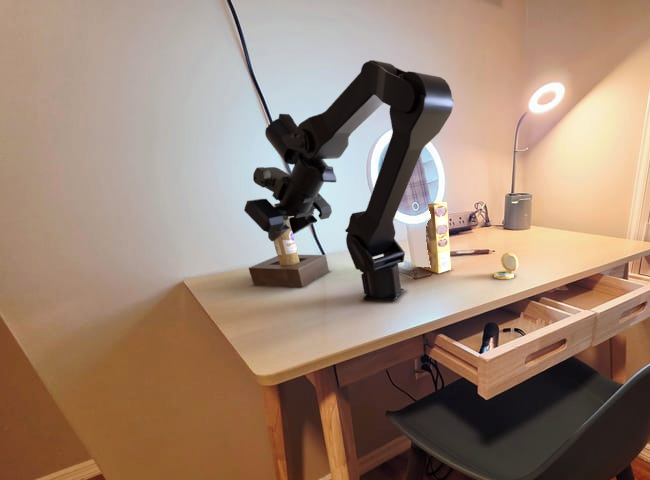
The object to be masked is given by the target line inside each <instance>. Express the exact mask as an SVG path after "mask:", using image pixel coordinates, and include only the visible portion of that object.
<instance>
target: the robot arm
mask: <svg viewBox="0 0 650 480" xmlns="http://www.w3.org/2000/svg"><path fill="white" fill-rule="evenodd" d="M383 104H386V105H387V106H389V112H388V113H389V119H390V123H391V124H390V125H391V131H392V132H391V137H390V139H389V142H388V145H387V149H386V152H385V154H384V157H383V159H382V163H381V166H380V169H379V171H378V174H377V178H376V180H375V183H374V186H373V189H372V193H371V195H370V197H369V201H368V204H367V207H366V209H365V210H363V211H358V212H357V211H356V212H352V213H351V215H350V216H349V222H348V225H347V228H345V229H344V231H345V233H347V234H346V238H345V243H346V248H347V250H348V253H349V255H350V258H351V261H352V264H353V265H354V268H355V270H358V271H359V272H361V275H360V276H361V277H360V278H361V283H362V290H363V294H364V296H363V297H362V299H363V301H373V302H395V301H396V300H397V299H398V298H399V297H400V296H401V295H402V294H403V293H404V292H405V289H404V288H402V285H401V277H400V269H399V264H400V263H401V264H402V263H404V261H405V255H406V252H405V251H404V250H403V247H401V245H400V244H399V242H397V240H396V239H395V236H396V229H395V223H394V219H395V216H396V214H397V213H398V209H399V208H400V205H401V202H402V200H403V197H404V195H405V194H406V193H405V192H406V190H407V188H408V186H409V184H410V181H411V178H412V176H413V174H414V172H415V171H414V170H415V168H416V167H417V163H418V161H419V159H420V156H421V154H422V152H423V150H424V148H425V147H426V146H427V145H428V144H429V143H430V142H431V141H432V140H433V139H435V137H436V136H437V135H438V134H439V133H440V132H441V130H442V129H443V127H444V126H445V124H446V122H447V120H449V118H450V116H451V114H452V111H453V108H454V99H453V94H452V90H451V87H450V85H449V83H448V81H446V79H445V78H443V77H441V76H436V75H431V74H427V73H421V72H417V71H416V72H415V71H405V70H402V69H401V68H398V67H396V66H395V65H393V64H392V63H389V62H383V61H378V60H374V59H373V60H370V59H369V60H368V61H366V62H364V63H363V64H362V66H361V69H360V72H359V73H358V74H357V75H356V76H355V77H354V79H353V80H352V81H351V82H350V83H349V85H347V86H346V88H345V89H344V90H343V91H342V92H341V93H340V94H339V95H338V97H337V98H336V99H335V100H334V101H333V102H332V103H331V105H329V107H327V109H326V110H325V111H323V112H322V113H318V114H316V115H312V116H309V117H307V118H306V119H305V120H303V121H301V122H300V123H299V124H298V125H297V123H296V122H295V121H294V119H293V117H292V115H290V114H289V113H279V114H278V118H276V119H274V120H272V121H271V122H270V123H269V124H268V125H267V127H266V128H265V133H264V134H265V138H266V140H267V141H268V142H269V143H270V144H271V146H272V147H273V148H274V150H275V151H276V152H277V154H278V156H279V157H280V158H281V159H282V160H283V161H284V163H285V164H288V165H292V166H293V167H292V170H291V172H290V173H287V172H286V171H284V170H282V169H280V168H278V167H275V166H269V167H264V166H261V167H259V166H258V167H256V168H255V170H254V172H253V174H252V175H253V176H252V177H253V178H252V181H253V182H254V183H255V184H256V185H258V186H259V187H261V188H262V189H263V188H265V189H267V190H268V191H270V192H272V195H271V197H273V198H274V200H275V201H279V202H278V203H274V204H275V205H274V206H275V207H274V206H273V205H272V204H273V203H271V202H270V201H269V199H267V198H258V199H250V200H246V203H245V205H244V209H243V211H244V212H245V213H246V214H247V216H248V217H250V219H252V220H253V222H254V223H255V224H256V225H257V226H258V227H259V228H260V229H261V230H262V231H263V232H265V233H267V237H268V239H269V240H270V241H271V242H273V241H274V240H275V239H277V238H278V237H280V236H281V235H282V234H283V233H285V232H286V231H287V230H288V229H290V228H289V227H288V226H287V224H286V222H287V221H288V220H289V221H290V225H291V229H292V232H293V235H295V234H297V233H299V232H300V231H302V230H304V229H306V228H308V227H310V226H311V225H313V224H316V223H317V222H318V219H317V218H316V217H315V216H314V215H315V213H314V212H315V210H317V212H318V213H319V214H318V218H319V219H320V221H323V220H325V219H329V218H330V216H331V215H332V214H333V211H332V206H331V204H329V202H327V200H326V199H325V198H324V197H323V196H322V195H321V194H320V191H321V189H322V187H323V185H324V183H337V176H336V174H335V172H334V171H335V170H334V167H333V166H329V165H328V164H327V163H326V161H325V160H333V159H339V158H341V157H342V155H343V154H344V152H346V149H347V148H348V147H349V145H350V136H351V135H352V134H353V133H354V131H356V130H357V129H358V128H359V127H360V126H361V125H362V124H363V123H364V122H365V121H366V120H367V119H369V118H370V117H371V115H372V114H374V113H375V112H376V111H377V110H378V109H379V108H380V107H381V106H382V105H383ZM381 255H383V256H381ZM378 256H379V257H378Z"/></svg>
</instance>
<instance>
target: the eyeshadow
mask: <svg viewBox="0 0 650 480" xmlns="http://www.w3.org/2000/svg"><path fill="white" fill-rule="evenodd" d="M500 263H501V265H502V268H503V269H504V270H497V271H495V272H494V274H493V276H494V278H495V279H498V280H510V279H512V278H515V277H514V276H515V275H514V272H515V271H516V270H517V269H518V267H519V260H518V258H517V256H516V255H515V254H514V253H512V252H505V253H504V254H502V256H501V258H500Z"/></svg>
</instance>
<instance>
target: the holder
mask: <svg viewBox="0 0 650 480" xmlns="http://www.w3.org/2000/svg"><path fill="white" fill-rule="evenodd" d="M298 257H299V261H300V262H299V263H297V264H295V265H280V262H279V259H278V255H275V256H273V257H271V258H269V259H266V260H264V261H261V262H259V263H257V264H254V265H252V266H250V267H248V272H249V274H250V277H251V278H250V279H251V281H252V284H253V286H258V287H279V288H280V287H282V288H283V287H284V288H304V287H306V286H307V285H309V284H311V283H312V282H314V281H316V280H318V279H319V278H321V277H322V276H324V275H326V274H328V273H329V272H330V268H329V264H328V259H327V255H326V254H298Z"/></svg>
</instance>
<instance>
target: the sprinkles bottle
mask: <svg viewBox="0 0 650 480" xmlns="http://www.w3.org/2000/svg"><path fill="white" fill-rule="evenodd" d="M271 204H272V205H273V206H274V205H275V204H276V203H271ZM274 207H275V206H274ZM286 224H287V226H288V227H289V228H290V229H288V230H287V231H286V232H285V233H283V234H282V235H281V236H280V237H278V238H277V239H275V240H274V241H272V242H273V245H274V249H275V252H276V256H278V259H279V262H280V265H295V264H297V263H299V262H300V261H299V257H298V255H299V254H298V248H297V244H296V240H295V236H294V234H293V232H292V229H291V225H290V221H289V220H288V221H287V222H286Z"/></svg>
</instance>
